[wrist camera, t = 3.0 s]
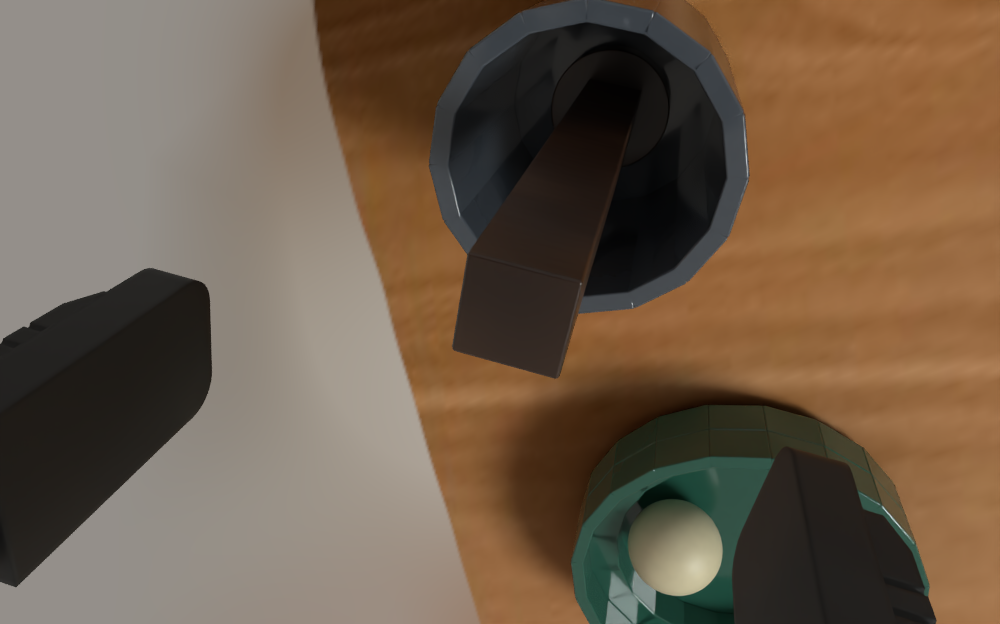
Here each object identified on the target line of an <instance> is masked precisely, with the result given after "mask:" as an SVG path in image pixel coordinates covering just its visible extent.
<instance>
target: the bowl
mask: <svg viewBox="0 0 1000 624" xmlns="http://www.w3.org/2000/svg"><path fill="white" fill-rule="evenodd" d="M784 447H791V448H794V449H798V450H801V451H805V452H809V453H812V454H816V455H819V456H823V457H827V458H830V459H834V460H837V461H841V462H845V463H847V464H848V465H849V467H850V468H851V471H852V474H853V477H854V480H855V484H856V487H857V491H858V494H859V497H860V501H861V504H862V508H863V510H866V511H870V512H874V513H877V514H881V515H883V516H884V517H885V518H886V519H887V521H888V522H889V523H890V524H891V526H892V527H893V528H894V529H895V531H896V532H897V533H898V535H899V536H900V537H901V538H902V540H903V541H904V542H905V543H906V545H907V546H908V547H909V548H910V550H911V551H912V553H913V556H914V559H915V561H916V564H917V567H918V570H919V573H920V575H921V578H922V581H923V584H924V587H925V591H924V595H925V596H928V594H929V582H928V579H927V576H926V572H925V569H924V566H923V563H922V560H921V557H920V554H919V551H918V548H917V545H916V542H915V539H914V537H913V534H912V531H911V529H910V526H909V523H908V520H907V518H906V515H905V512H904V510H903V507H902V504H901V502H900V499H899V496H898V493H897V491H896V488H895V485H894V483H893V482H892V481H891V479H890V478H889V477H888V476H887V475H886V474H885V472H884V471H883V470H882V469H881V468H880V467H879V465H878V464H877V463H876V462H875V461H874V460H873V458H872V457H871V456H870V455H869V454H868V453H867V451H866V450H865V449H864V448H863V447H861V446H860V445H858V444H856V443H855V442H853V441H851V440H850V439H848V438H846V437H844V436H843V435H841V434H839V433H838V432H836V431H834V430H833V429H831V428H829V427H828V426H826V425H824V424H823V423H821V422H819V421H817V420H816V419H812V418H809V417H805V416H801V415H798V414H794V413H790V412H787V411H783V410H779V409H776V408H772V407H768V406H765V405H763V406H761V405H703V406H699V407H695V408H691V409H687V410H683V411H680V412H676V413H672V414H668V415H664V416H660V417H658V418H655V419H654V420H652V421H650V422H648V423H647V424H645V425H643V426H642V427H640V428H638V429H637V430H635V431H633V432H632V433H630V434H628V435H627V436H625V437H623V438H622V439H620V440H618V441H617V442H616V444H615V445H614V446H613V447H612V448H611V450H610V451H609V452H608V453H607V454H606V456H605V457H604V458H603V459H602V460H601V462H600V463H599V464H598V465H597V466H596V468H595V469H594V470H593V471H592V473H591V476H590V479H589V483H588V486H587V489H586V492H585V496H584V499H583V502H582V505H581V510H580V515H579V521H578V526H577V532H576V537H575V542H574V547H573V552H572V557H571V567H572V575H573V583H574V591H575V598H576V600H577V602H578V604H579V606H580V608H581V609H582V611H583V613H584V615H585V617H586V618H587V620H588V622H589V624H735V622H734V606H733V589H732V569H733V561H734V555H735V550H736V546H737V543H738V539H739V536H740V534H741V531H742V529H743V527H744V524H745V522H746V520H747V518H748V516H749V514H750V512H751V509H752V507H753V505H754V503H755V501H756V499H757V496H758V494H759V492H760V490H761V488H762V486H763V483H764V481H765V479H766V477H767V475H768V473H769V471H770V468H771V466H772V464H773V462H774V460H775V458H776V456H777V454H778V453H779V452H780V450H781V449H782V448H784ZM666 499H678V500H683V501H687V502H690V503H692V504H694V505H696V506H697V507H699V508H700V509H702V510H703V511H704V512H705V513H706V514H707V515H708V516H709V517H710V518H711V519H712V520H713V522H714V523H715V525H716V527H717V529H718V531H719V534H720V537H721V541H722V547H723V554H722V561H721V565H720V568H719V570H718V572H717V574H716V576H715V577H714V579H713V580H712V581H711V582H710V583H709V584H708V585H707V586H706V587H705V588H703V589H702V590H700V591H698V592H696V593H693V594H690V595H685V596H672V595H667V594H664V593H661V592H659V591H656V590H655V589H653V588H651V587H650V586H649V585H647V584H646V583H645V582H644V581H643V580H642V579H641V578H640V577H639V575H638V574H637V572H636V571H635V569H634V567H633V565H632V563H631V560H630V557H629V552H628V536H629V532H630V528H631V526H632V524H633V521H634V520H635V518H636V517H637V516H638V514H639V513H640V512H641V511H642V510H643V509H645V508H646V507H647V506H649V505H651V504H653V503H655V502H657V501H661V500H666Z"/></svg>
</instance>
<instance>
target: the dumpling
mask: <svg viewBox="0 0 1000 624" xmlns="http://www.w3.org/2000/svg"><path fill="white" fill-rule="evenodd" d="M628 552H629V557H630V560H631V563H632V565H633V567H634V569H635V571H636V572H637V574H638V575H639V577H640V578H641V579H642V580H643V581H644V582H645V583H646V584H647V585H649V586H650V587H651V588H653V589H655V590H656V591H659V592H661V593H664V594H667V595H672V596H685V595H690V594H693V593H696V592H698V591H700V590H702V589H703V588H705V587H706V586H707V585H708V584H709V583H710V582H711V581H712V580H713V579H714V577H715V576H716V574H717V572H718V570H719V568H720V565H721V561H722V554H723V547H722V541H721V537H720V534H719V531H718V529H717V527H716V525H715V523H714V522H713V520H712V519H711V518H710V517H709V516H708V515H707V514H706V513H705V512H704V511H703V510H702V509H700V508H699V507H697V506H696V505H694V504H692V503H690V502H687V501H683V500H678V499H666V500H661V501H657V502H655V503H653V504H651V505H649V506H647V507H646V508H645V509H643V510H642V511H641V512H640V513H639V514H638V516H637V517H636V518H635V520H634V521H633V524H632V526H631V528H630V532H629V536H628Z"/></svg>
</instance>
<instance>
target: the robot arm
mask: <svg viewBox="0 0 1000 624" xmlns="http://www.w3.org/2000/svg"><path fill="white" fill-rule="evenodd" d="M211 377H212V360H211V324H210V297H209V292H208V290H207V287H206V286H205V284H203V283H202V282H199V281H196V280H193V279H189V278H185V277H182V276H178V275H175V274H171V273H168V272H164V271H160V270H156V269H153V268H148V269H144V270H142V271H140V272H138V273H137V274H135V275H133V276H132V277H130V278H128V279H127V280H125V281H123V282H122V283H120V284H119V285H117V286H115V287H114V288H112V289H110V290H109V291H107V292H100V293H97V294H93V295H90V296H87V297H84V298H80V299H77V300H74V301H70V302H67V303H64V304H62V305H60V306H58V307H56V308H55V309H53V310H51V311H50V312H48V313H46V314H44V315H43V316H41V317H39V318H38V319H36V320H34V321H32V322H31V323H30V326H29V327H28V328H27V327H22V328H21V329H19V330H17V331H15V332H14V333H12V334H10V335H8V336H7V337H5V338H3V342H2V343H1V344H0V582H2V583H5V584H8V585H11V586H14V587H17V586H18V585H19V584H20V583H21V582H22V581H23V580H24V579H25V578H26V577H27V576H28V575H29V574H30V573H31V572H32V571H33V570H35V569H36V568H37V567H38V566H39V565H40V564H41V563H42V562H43V561H44V560H45V559H46V558H47V557H48V556H49V555H50V554H51V553H52V552H53V551H54V550H55V549H56V548H57V547H58V546H59V545H60V544H62V543H63V542H64V541H65V540H66V539H67V538H68V537H69V536H70V535H71V534H72V533H73V532H74V531H75V530H76V529H77V528H78V527H79V526H80V525H81V524H82V523H83V522H84V521H85V520H86V519H87V518H89V517H90V516H91V515H92V514H93V513H94V512H95V511H96V510H97V509H98V508H99V507H100V506H101V505H102V504H103V503H104V502H105V501H106V500H107V499H108V498H109V497H110V496H111V495H113V493H114V492H116V491H117V490H118V489H119V488H120V487H121V486H122V485H123V484H124V483H125V482H126V481H127V480H128V479H129V478H130V477H131V476H132V475H133V474H134V473H135V472H136V471H137V470H138V469H140V468H141V467H142V466H143V465H144V464H145V463H146V462H147V461H148V460H149V459H150V458H151V457H152V456H153V455H154V454H155V453H156V452H157V451H158V450H159V449H160V448H161V447H162V446H163V445H164V444H166V443H167V442H168V441H169V440H170V439H171V438H172V437H173V436H174V435H175V434H176V433H177V432H178V431H179V430H180V429H181V428H182V427H183V426H184V425H185V424H186V423H187V422H188V421H189V420H190V419H192V418H193V417H194V415H195V414H196V413H197V412H198V411H199V409H200V408H201V406H202V404H203V403H204V400H205V398H206V396H207V394H208V391H209V387H210V383H211ZM732 589H733V606H734V622H735V624H935V623H936V618H935V615H934V612H933V609H932V606H931V604H930V601H929V598H928V596H925V595H924V591H925V587H924V584H923V581H922V578H921V575H920V573H919V570H918V567H917V564H916V561H915V559H914V556H913V553H912V551H911V550H910V548H909V547H908V546H907V545H906V543H905V542H904V541H903V540H902V538H901V537H900V536H899V535H898V533H897V532H896V531H895V529H894V528H893V527H892V526H891V524H890V523H889V522H888V521H887V519H886V518H885V517H884V516H883V515H881V514H877V513H874V512H870V511H866V510H863V508H862V504H861V501H860V497H859V494H858V491H857V487H856V484H855V480H854V477H853V474H852V471H851V468H850V467H849V465H848V464H847V463H845V462H841V461H837V460H834V459H830V458H827V457H823V456H819V455H816V454H812V453H809V452H805V451H801V450H798V449H794V448H791V447H784V448H782V449H781V450H780V452H779V453H778V454H777V456H776V458H775V460H774V462H773V464H772V466H771V468H770V471H769V473H768V475H767V477H766V479H765V481H764V483H763V486H762V488H761V490H760V492H759V494H758V496H757V499H756V501H755V503H754V505H753V507H752V509H751V512H750V514H749V516H748V518H747V520H746V522H745V524H744V527H743V529H742V531H741V534H740V536H739V539H738V543H737V546H736V550H735V555H734V561H733V569H732Z"/></svg>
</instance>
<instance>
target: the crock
mask: <svg viewBox="0 0 1000 624" xmlns="http://www.w3.org/2000/svg"><path fill="white" fill-rule="evenodd" d="M609 45H620V46H627V47H630V48H634V49H636V50H638V51H640V52H642V53H644V54H645V55H647V56H648V57H649V58H650V59H652V60H653V61H654V62H655V63H656V64H657V66H658V67H659V68H660V70H661V71H662V73H663V75H664V77H665V79H666V81H667V84H668V87H669V92H670V112H669V119H668V123H667V127H666V129H665V132H664V134H663V136H662V138H661V140H660V141H659V143H658V144H657V145H656V147H655V148H654V149H653V150H652V151H651V152H650V153H649V154H648V155H646V156H645V157H644V158H642V159H641V160H639V161H637V162H635V163H633V164H631V165H628V166H625V167H621V170H620V174H619V177H618V181H617V184H616V187H615V191H614V194H613V197H612V201H611V204H610V208H609V211H608V214H607V218H606V221H605V224H604V228H603V231H602V235H601V238H600V241H599V245H598V248H597V251H596V255H595V258H594V262H593V265H592V268H591V272H590V275H589V278H588V282H587V285H586V289H585V292H584V295H583V299H582V302H581V305H580V309H579V312H578V313H579V314H580V313H591V312H602V311H613V310H624V309H633V308H634V307H635V308H636V307H638V306H640V305H642V304H645V303H647V302H649V301H651V300H653V299H655V298H657V297H659V296H661V295H663V294H665V293H667V292H669V291H671V290H673V289H675V288H677V287H680V286H682V285H684V284H685V283H686V282H688V281H690V279H691V278H692V277H693V276H694V275H695V274H696V273H697V272H698V271H699V270H700V268H701V267H702V266H703V265H704V264H705V263H706V262H707V261H708V260H709V259H710V258H711V256H712V255H713V254H714V253H715V252H716V251H717V250H718V249H719V248H720V247H721V245H722V244H723V243H724V242H725V241H726V240H727V237H728V236H729V235H730V232H731V230H732V227H733V224H734V221H735V218H736V215H737V213H738V210H739V207H740V204H741V201H742V199H743V196H744V193H745V190H746V187H747V185H748V182H749V176H750V175H749V161H748V148H747V134H746V121H745V113H744V110H743V107H742V103H741V100H740V97H739V93H738V90H737V87H736V84H735V80H734V77H733V74H732V70H731V67H730V64H729V61H728V58H727V56H726V54H725V52H724V50H723V49H722V47H721V45H720V43H719V40H718V38H717V36H716V35H715V33H714V31H713V30H712V28H711V26H710V25H709V23H708V21H707V19H706V18H705V17H704V16H703V15H702V14H701V13H699V12H698V11H697V10H696V9H695V8H694V7H693V6H691V5H690V4H689V3H688V2H687V1H685V0H545V1H543V2H541V3H538V4H536V5H534V6H532V7H530V8H527V9H525V10H523V11H521V12H519V13H517V14H516V15H514V16H513V17H512V18H510V19H509V20H508V21H506V22H505V23H504V24H502V25H501V26H500V27H498V28H497V29H496V30H494V31H493V32H491V33H490V34H489V35H487V36H486V37H485V38H483V39H482V40H481V41H479V42H478V43H477V44H475V45H474V46H473V47H471V48H470V49H469V51H468V52H466V54H465V56H464V57H463V59H462V61H461V63H460V64H459V66H458V68H457V70H456V71H455V73H454V75H453V76H452V78H451V80H450V82H449V83H448V85H447V87H446V89H445V90H444V92H443V94H442V95H441V97H440V99H439V101H438V103H437V106H436V112H435V119H434V127H433V135H432V143H431V150H430V158H429V168H430V172H431V176H432V179H433V183H434V187H435V191H436V195H437V199H438V203H439V207H440V211H441V214H442V218H443V220H444V222H445V224H446V225H447V226H448V228H449V229H450V231H451V232H452V234H453V235H454V236H455V238H456V239H457V241H458V242H459V244H460V245H461V246H462V248H463V249H464V251H465V252H466V253H467V255H468V253H469V251H470V250H471V248H472V247H473V245H474V244H475V243H476V241H477V240H478V238H479V237H480V235H481V234H482V233H483V231H484V230H485V228H486V227H487V225H488V224H489V222H490V221H491V220H492V218H493V217H494V215H495V214H496V212H497V211H498V210H499V208H500V207H501V205H502V204H503V202H504V201H505V200H506V198H507V197H508V195H509V194H510V192H511V191H512V190H513V188H514V187H515V185H516V184H517V182H518V181H519V180H520V178H521V177H522V175H523V174H524V172H525V171H526V169H527V168H528V167H529V165H530V164H531V162H532V161H533V159H534V158H535V157H536V155H537V154H538V152H539V151H540V149H541V148H542V147H543V145H544V144H545V142H546V141H547V139H548V138H549V137H550V135H551V134H552V132H553V131H554V127H553V123H552V116H551V104H552V97H553V94H554V90H555V88H556V85H557V83H558V81H559V80H560V78H561V76H562V75H563V74H564V72H565V71H566V70H567V69H568V67H569V66H570V65H571V64H572V63H573V62H574V61H575V60H576V59H578V58H579V57H580V56H582V55H583V54H585V53H587V52H588V51H590V50H593V49H595V48H599V47H602V46H609Z"/></svg>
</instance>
